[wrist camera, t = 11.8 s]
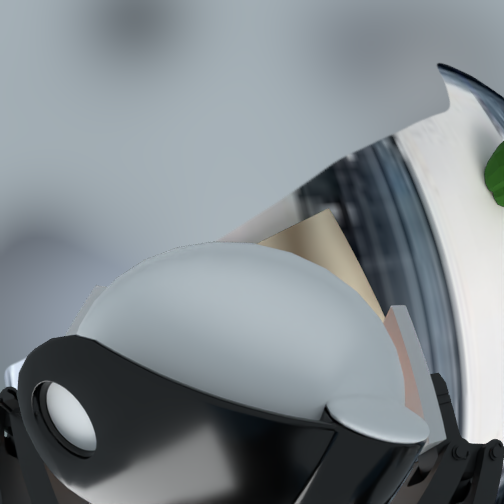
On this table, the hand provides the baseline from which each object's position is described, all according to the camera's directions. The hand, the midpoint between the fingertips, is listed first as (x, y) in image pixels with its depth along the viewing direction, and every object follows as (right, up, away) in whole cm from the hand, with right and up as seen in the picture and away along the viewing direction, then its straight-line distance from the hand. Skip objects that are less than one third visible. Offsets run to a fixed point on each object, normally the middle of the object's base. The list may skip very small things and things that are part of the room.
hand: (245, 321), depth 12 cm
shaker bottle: (0, -4, +10) cm, 11 cm away
